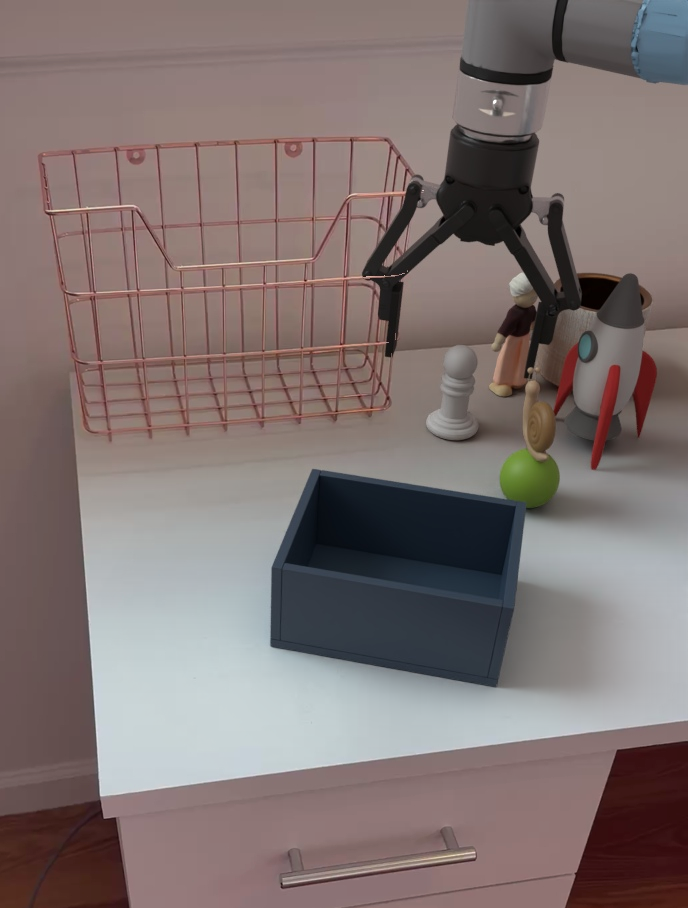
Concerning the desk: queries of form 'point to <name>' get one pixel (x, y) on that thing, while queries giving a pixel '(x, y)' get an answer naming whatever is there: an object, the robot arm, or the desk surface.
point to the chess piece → (455, 396)
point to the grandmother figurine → (514, 338)
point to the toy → (609, 370)
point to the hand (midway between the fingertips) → (459, 362)
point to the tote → (398, 576)
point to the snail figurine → (532, 454)
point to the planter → (581, 321)
